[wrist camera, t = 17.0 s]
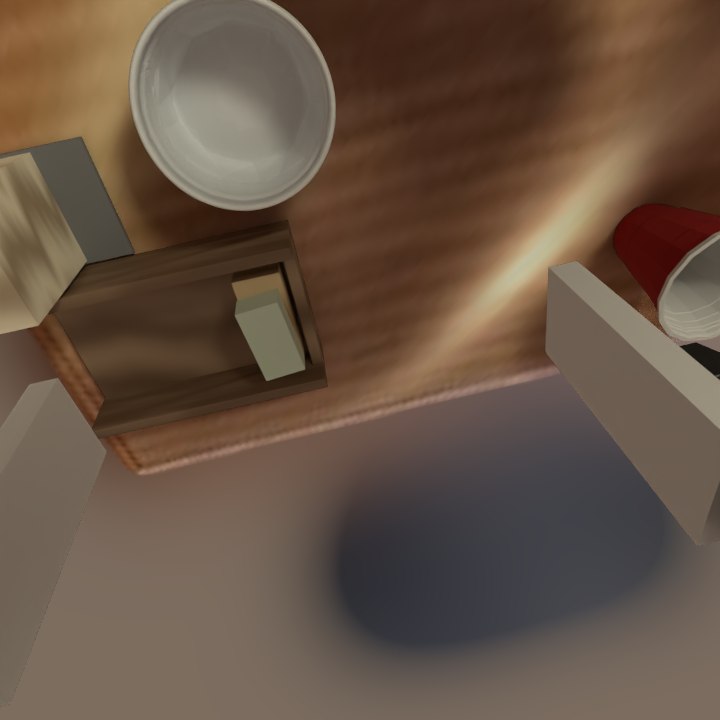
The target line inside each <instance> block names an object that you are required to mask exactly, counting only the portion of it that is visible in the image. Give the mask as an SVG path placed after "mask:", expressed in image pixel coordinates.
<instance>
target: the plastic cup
mask: <svg viewBox="0 0 720 720" xmlns="http://www.w3.org/2000/svg"><path fill="white" fill-rule="evenodd" d="M613 241H614V249H615V250H616V253H617V255H618V256H619V257H620V259H621V260H622V261H623V263H624V264H625V265H626V267H627V268H628V270H629V271H630V272H631V274H632V275H633V276H634V278H635V279H636V280H637V282H638V283H639V284H640V285H641V287H642V288H643V289H644V291H645V292H646V293H647V294H648V296H649V297H650V299H651V300H652V302H653V303H654V306H655V308H656V309H657V312H658V321H659V323H660V324H661V325H662V327H663V328H664V330H665V331H666V333H667V334H668V335H669V336H671V337H674V338H677V339H680V340H683V341H685V342H687V341H699V340H708V339H711V338H714V337H717V336H719V335H720V216H716V215H712V214H708V213H704V212H699V211H695V210H691V209H687V208H677V207H673V206H669V205H664V204H645V205H642V206H640V207H638V208H635V209H633V210H632V211H631V212H630V213H629V214H627V215H626V216H625V217H624V218H623V219H622V221H621V222H620V224H619V225H618V227H617V228H616V232H615V235H614V238H613Z"/></svg>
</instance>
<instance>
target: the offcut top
mask: <svg viewBox="0 0 720 720" xmlns="http://www.w3.org/2000/svg"><path fill="white" fill-rule="evenodd" d="M235 317H236V319H237V321H238V323H239V326H240V328H241V330H242V332H243V334H244V336H245V338H246V340H247V342H248V344H249V346H250V348H251V350H252V352H253V354H254V356H255V359H256V361H257V363H258V365H259V367H260V369H261V371H262V373H263V375H264V377H265V379H266V381H269V380H272V379H275V378H279V377H282V376H285V375H289V374H292V373H295V372H298V371H302V370H305V359H304V352H303V350H302V347H301V345H300V343H299V340H298V338H297V335H296V333H295V330H294V328H293V326H292V323H291V321H290V318H289V316H288V313H287V311H286V309H285V306H284V304H283V301H282V299H281V296H280V294H279V292H278V289H273V290H270V291H267V292H264V293H261V294H257V295H254V296H251V297H248V298H245V299H241V300H238V301H237V302H236V309H235Z"/></svg>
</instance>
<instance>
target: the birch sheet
mask: <svg viewBox="0 0 720 720" xmlns="http://www.w3.org/2000/svg"><path fill="white" fill-rule="evenodd" d="M86 262H87V259H86V258H85V256H84V254H83V252H82V250H81V248H80V246H79V244H78V242H77V241H76V239H75V237H74V235H73V233H72V231H71V229H70V227H69V225H68V224H67V222H66V220H65V218H64V216H63V214H62V212H61V210H60V208H59V207H58V205H57V203H56V201H55V199H54V197H53V195H52V193H51V191H50V190H49V188H48V186H47V184H46V182H45V180H44V178H43V176H42V174H41V173H40V171H39V169H38V167H37V165H36V163H35V161H34V159H33V157H32V155H31V154H30V152H29V153H25V154H20V155H15V156H11V157H6V158H2V159H0V334H3V333H8V332H12V331H17V330H21V329H26V328H30V327H35V326H39V324H40V323H41V322H42V320H43V319H44V318H45V316H46V315H47V314H48V312H49V311H50V310H51V308H52V307H53V306H54V304H55V303H56V302H57V300H58V299H59V298H60V296H61V295H62V294H63V292H64V291H65V290H66V288H67V287H68V286H69V284H70V283H71V282H72V280H73V279H74V278H75V276H76V275H77V274H78V272H79V271H80V270H81V268H82V267H83V266H84V264H85V263H86Z"/></svg>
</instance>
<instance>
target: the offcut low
mask: <svg viewBox="0 0 720 720" xmlns="http://www.w3.org/2000/svg"><path fill="white" fill-rule="evenodd" d="M231 283H232V286H233V289H234V292H235V295H236V297H237V300H241V299H245V298H248V297H251V296H254V295H257V294H261V293H264V292H267V291H270V290H273V289H278V292H279V294H280V296H281V299H282V301H283V304H284V306H285V309H286V311H287V313H288V316H289V318H290V321H291V323H292V326H293V328H294V330H295V333H296V335H297V338H298V340H299V343H300V345H301V347H302V350H303V352H304V344H303V338H302V334H301V331H300V327H299V324H298V320H297V317H296V314H295V310H294V307H293V303H292V300H291V296H290V293H289V290H288V286H287V283H286V279H285V276H284V272H283V269H282V266H281V262H278V263H273V264H269V265H264V266H260V267H255V268H251V269H247V270H242V271H238V272H233V276H232V282H231ZM304 359H305V356H304Z"/></svg>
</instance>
